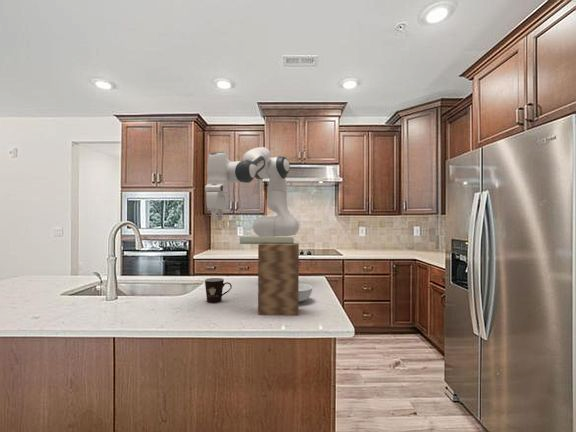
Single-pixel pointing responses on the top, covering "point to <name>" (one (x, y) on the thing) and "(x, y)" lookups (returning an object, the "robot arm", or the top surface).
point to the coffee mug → (215, 289)
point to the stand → (278, 279)
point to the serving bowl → (304, 291)
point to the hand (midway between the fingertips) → (217, 219)
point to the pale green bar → (266, 240)
